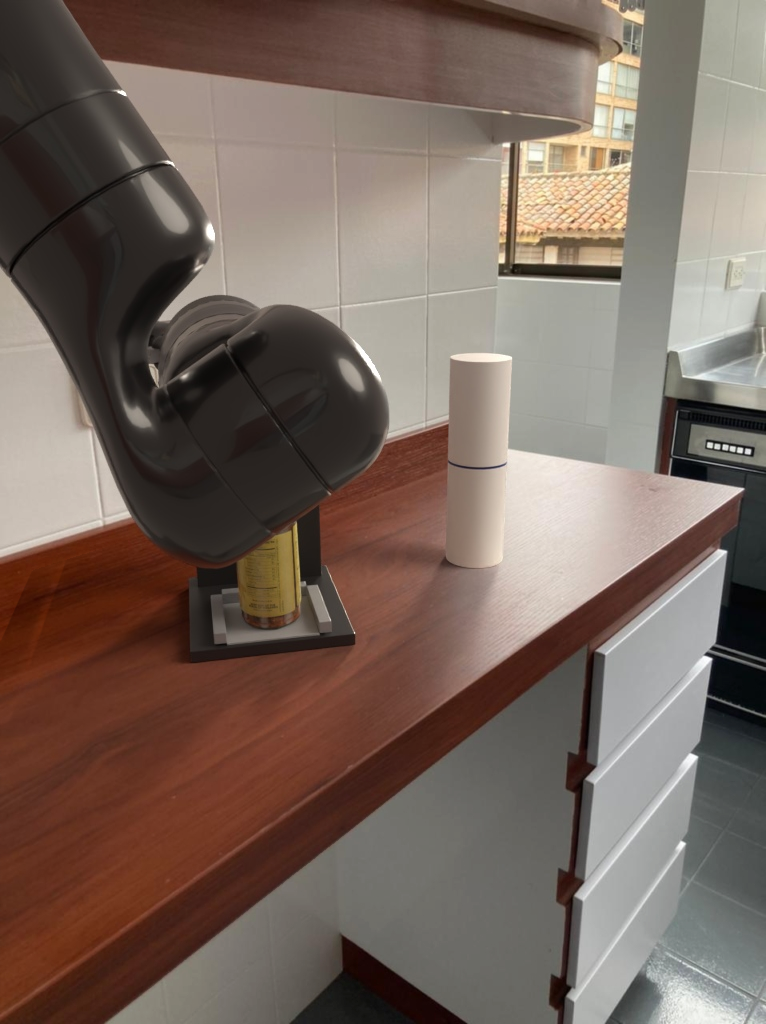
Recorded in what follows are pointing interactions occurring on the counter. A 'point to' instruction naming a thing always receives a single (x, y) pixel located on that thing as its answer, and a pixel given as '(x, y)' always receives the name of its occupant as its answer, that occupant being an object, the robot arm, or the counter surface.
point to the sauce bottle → (271, 582)
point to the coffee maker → (230, 636)
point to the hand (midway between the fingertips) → (214, 333)
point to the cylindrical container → (477, 458)
